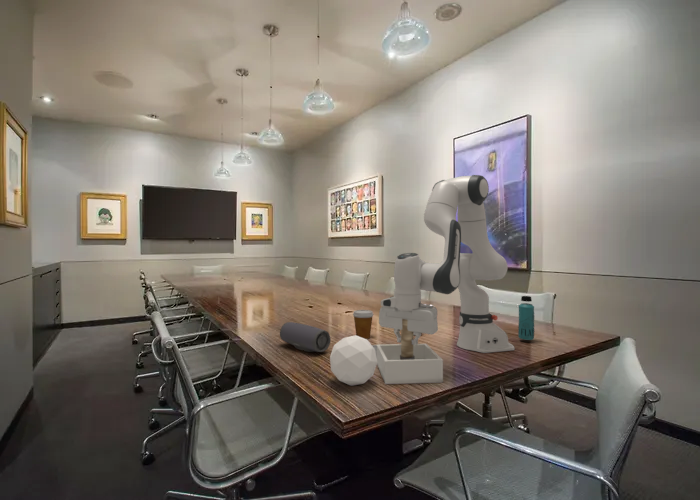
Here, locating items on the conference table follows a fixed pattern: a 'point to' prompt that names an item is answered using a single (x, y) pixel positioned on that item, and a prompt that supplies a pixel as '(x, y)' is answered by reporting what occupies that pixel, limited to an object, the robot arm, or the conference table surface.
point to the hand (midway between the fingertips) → (407, 343)
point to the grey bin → (409, 365)
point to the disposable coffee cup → (363, 323)
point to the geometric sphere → (353, 360)
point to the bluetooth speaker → (305, 337)
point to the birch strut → (406, 342)
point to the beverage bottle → (526, 319)
